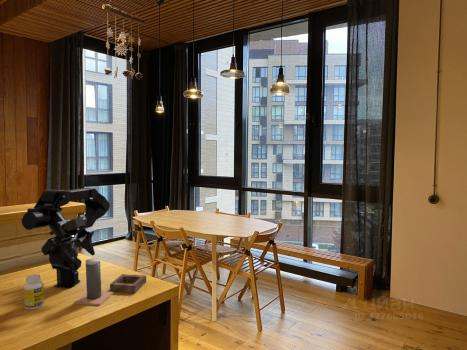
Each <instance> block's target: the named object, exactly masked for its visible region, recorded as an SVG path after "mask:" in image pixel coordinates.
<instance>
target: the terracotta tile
mask: <svg viewBox="0 0 467 350" xmlns="http://www.w3.org/2000/svg"><path fill="white" fill-rule="evenodd" d="M114 293H115V291H104V290H101V297H100V298H98V299H93V300H90V299H87V291H86V292H84V294H82V295H81V296H80V297H78V298H77V299H76V300H74V301H73V304H75V305H87V306H98V307H100V306H102V304H104V302H106V301H108V299H109V298H111V296H113V295H114Z"/></svg>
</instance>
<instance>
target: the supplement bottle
mask: <svg viewBox="0 0 467 350" xmlns="http://www.w3.org/2000/svg"><path fill="white" fill-rule="evenodd" d="M25 281H26V282H25V284H24V285H23V304H24V309H26V310H36V309H39V308H42V307H43V306H44V304H45V301H44V300H45V299H44V297H45V295H44V294H45V293H44V282H43V281H42V280H41V274H37V273H34V274H30V275H27V276H26V277H25Z"/></svg>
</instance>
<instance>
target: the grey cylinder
mask: <svg viewBox="0 0 467 350" xmlns="http://www.w3.org/2000/svg"><path fill="white" fill-rule="evenodd" d="M85 277H86V278H85V280H86V282H85V283H86V292H87V299H90V300H93V299H98V298H100V297H101V291H102V273H101V259H100V258H99V257H93V258H92V257H91V258H87V259H86V260H85Z"/></svg>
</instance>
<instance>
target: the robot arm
mask: <svg viewBox="0 0 467 350" xmlns="http://www.w3.org/2000/svg"><path fill="white" fill-rule="evenodd" d="M79 200H83V204H84V205H85V207H84V210H85V211H84V212H85V213H84V214H80V215H78V216H76V218H73V219H66V218H65V216H64V215H63V214H62V211H63V209H64V208H63V206H66V205H68V204H69V203H70V202H72V201H73V202H74V201H79ZM110 205H111V204H110V202H109V201H108V199H107V198H106V197H105V196H104V195H103V194H101V192H99V191H98V190H97V189H96V188H94V187H83V188H76V189H69V190H65V189H64V190H62V189H50V188H49V189H47V188H46V189H45V190H43V192H42V194H41V195H40V196H39V198H38V200H37V202H36V203H35V205H34V207H32V208H30V207H29V208H27V211H26V212H24V214H23V216H22V218H21V224H22V227H23V228H24V229H25V230H26V231H27V230H28V231H31V230H36V229H42V228H46V227H48V228H49V229H50V231H49V234H50V236H53V235H54V236H53V237H50V238H47V240H46V241H45V243H43V245H41V250H40V251H41V253H42V254H43V256H47V255H48V260H49V264H50V266H51V268H52V270H56V284H55V285H54V286H53V287H54V288H65V289H70V288H73V287H74V286H76V285H77V284H78V283H80V282H81V280H80V279H79V271H78V270H79V269H80V268H82V267H81V266H82V262H83V261H82V260H81V259H80V258H79V257H78V256H79V247H82V248H83V249H84V250H85V251H86V252H87V253H88V254H90V255H91V256H94V255H95V253H96V252H95V249H94V244H93V240H92V238H93V236H94V233H95V232H96V230H95V228H94V227H93V225H94V224H95V223H96V221H97V220H99V219H100V218H102V217H105V215H106V214H107V213H108V211H109V209H110Z"/></svg>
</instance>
